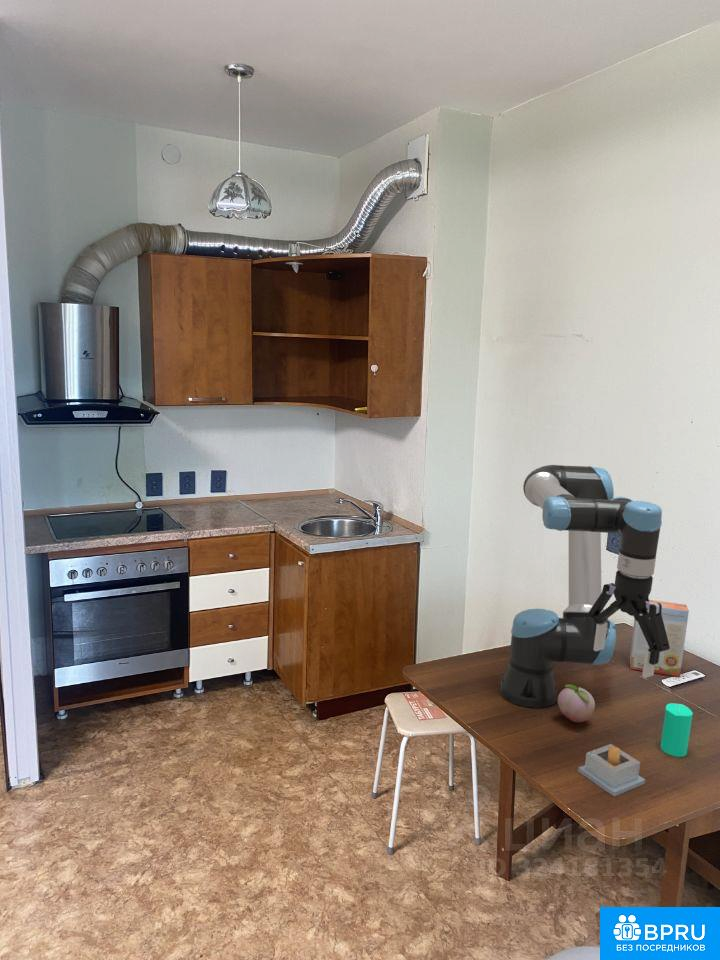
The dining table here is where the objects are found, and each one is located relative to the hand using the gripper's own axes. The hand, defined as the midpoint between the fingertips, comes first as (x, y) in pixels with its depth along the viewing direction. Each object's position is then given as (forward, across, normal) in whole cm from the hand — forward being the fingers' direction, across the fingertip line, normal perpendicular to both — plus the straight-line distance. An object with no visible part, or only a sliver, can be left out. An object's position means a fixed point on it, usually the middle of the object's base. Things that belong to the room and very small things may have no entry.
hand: (622, 662), depth 159 cm
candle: (+25, +4, +18) cm, 32 cm away
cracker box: (+27, -28, +51) cm, 64 cm away
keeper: (+25, +5, -5) cm, 26 cm away
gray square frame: (+24, +5, -5) cm, 25 cm away
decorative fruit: (+26, -16, +6) cm, 31 cm away
